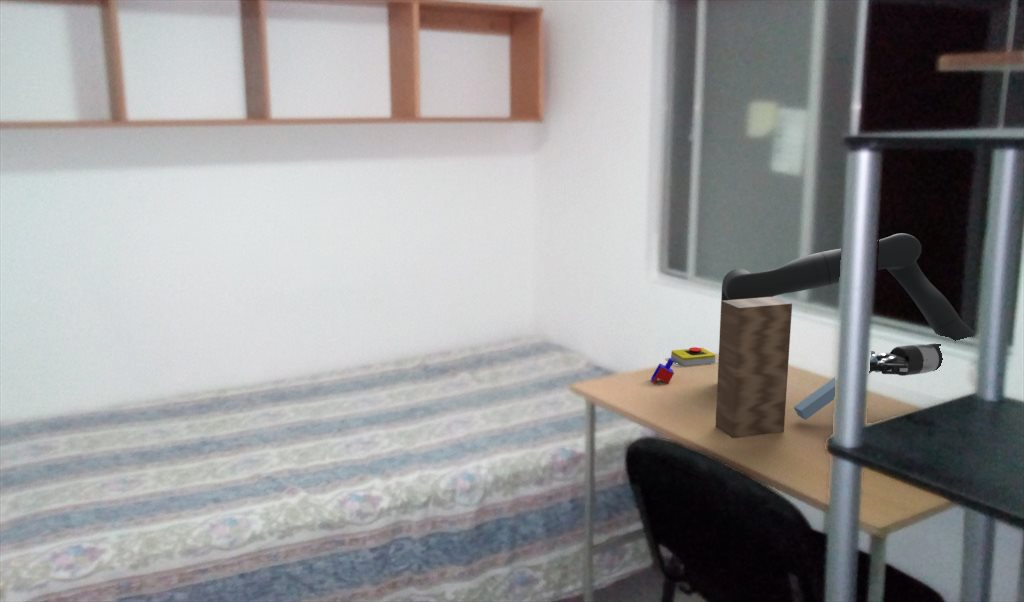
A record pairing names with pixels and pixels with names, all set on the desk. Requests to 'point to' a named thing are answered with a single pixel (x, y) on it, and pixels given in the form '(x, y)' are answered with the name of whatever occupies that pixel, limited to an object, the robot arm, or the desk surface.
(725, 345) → the upright
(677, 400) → the desk surface
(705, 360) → the emergency button
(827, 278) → the robot arm
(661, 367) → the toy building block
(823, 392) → the bar
